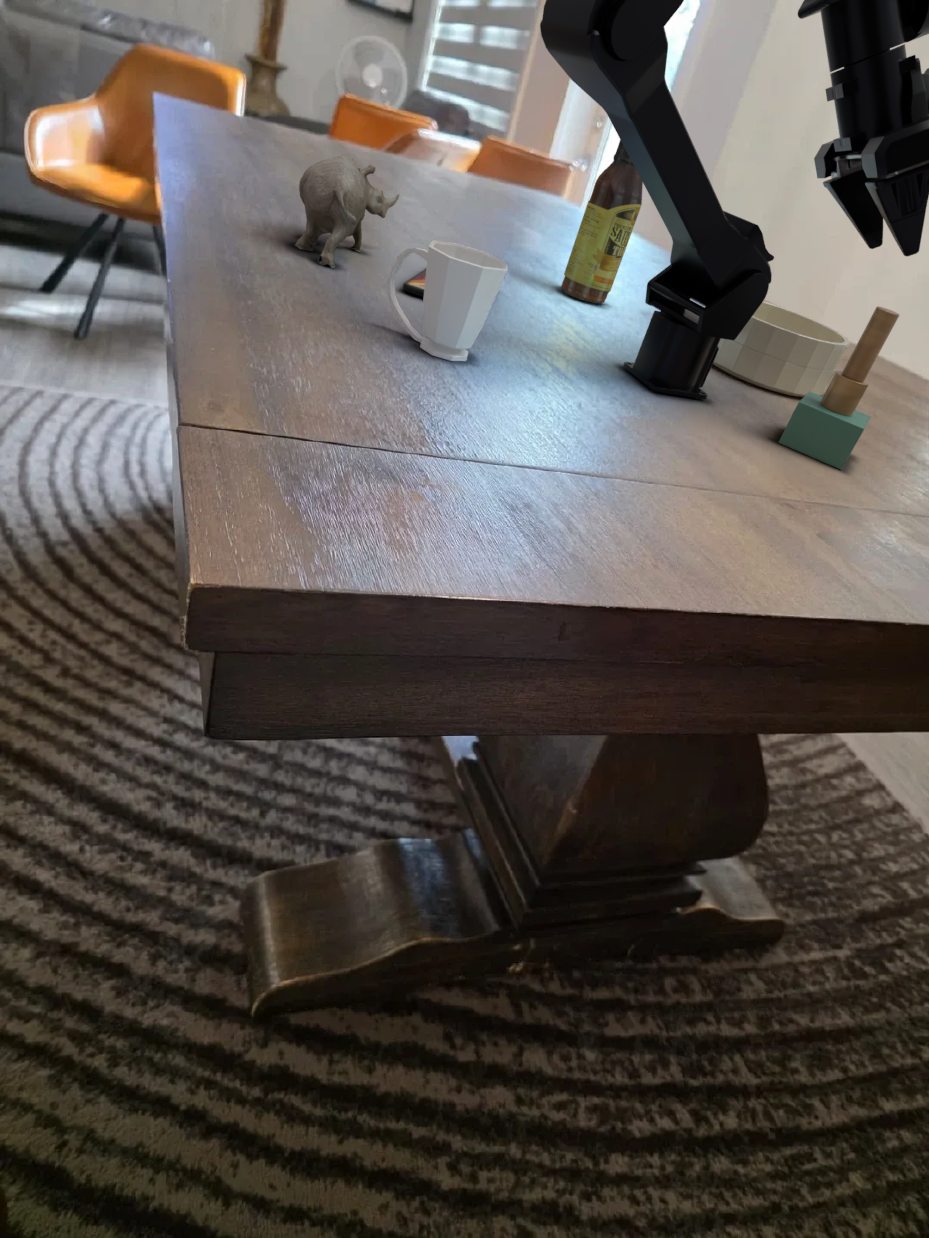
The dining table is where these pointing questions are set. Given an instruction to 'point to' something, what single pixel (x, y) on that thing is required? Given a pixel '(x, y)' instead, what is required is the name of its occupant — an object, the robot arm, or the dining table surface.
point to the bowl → (783, 352)
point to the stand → (823, 431)
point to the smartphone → (416, 284)
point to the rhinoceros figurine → (338, 203)
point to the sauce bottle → (604, 230)
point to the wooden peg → (859, 365)
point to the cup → (451, 296)
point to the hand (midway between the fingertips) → (893, 251)
